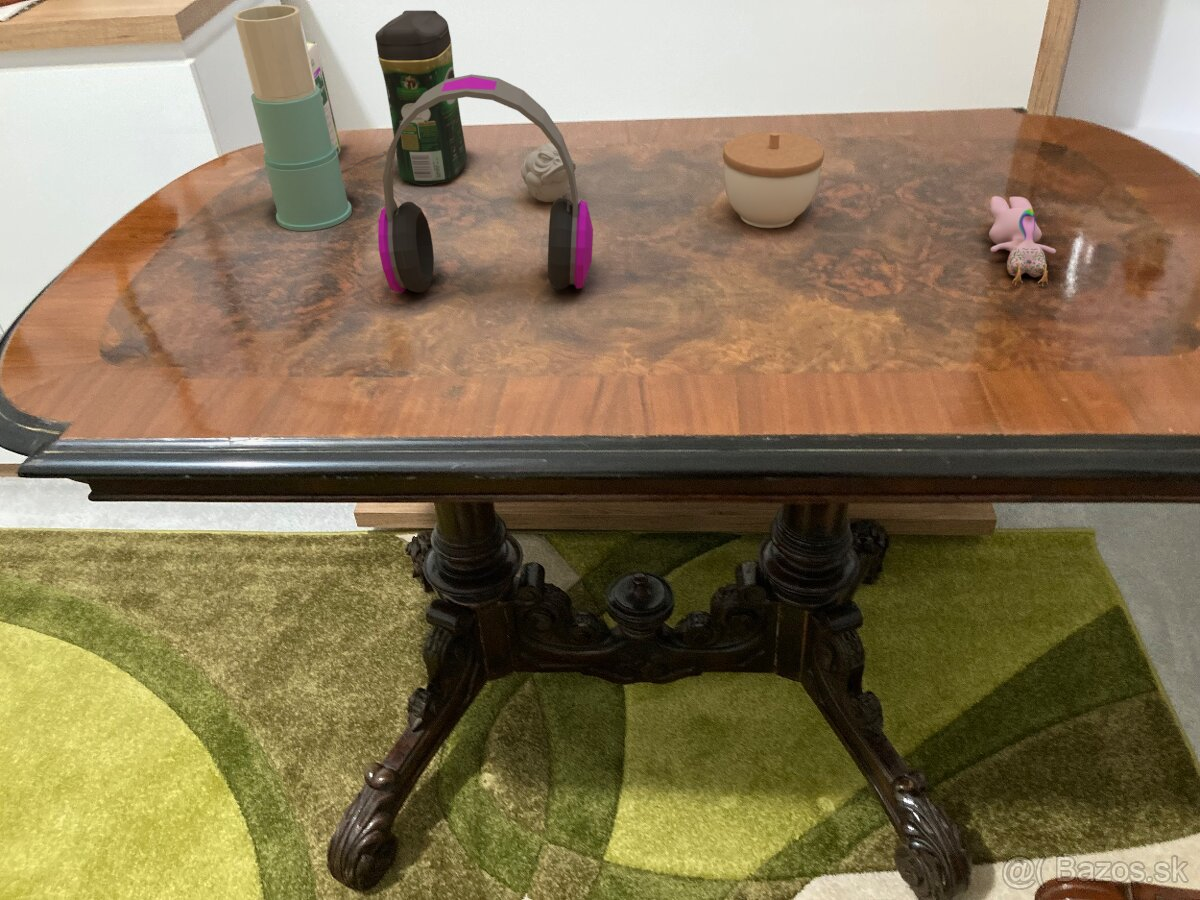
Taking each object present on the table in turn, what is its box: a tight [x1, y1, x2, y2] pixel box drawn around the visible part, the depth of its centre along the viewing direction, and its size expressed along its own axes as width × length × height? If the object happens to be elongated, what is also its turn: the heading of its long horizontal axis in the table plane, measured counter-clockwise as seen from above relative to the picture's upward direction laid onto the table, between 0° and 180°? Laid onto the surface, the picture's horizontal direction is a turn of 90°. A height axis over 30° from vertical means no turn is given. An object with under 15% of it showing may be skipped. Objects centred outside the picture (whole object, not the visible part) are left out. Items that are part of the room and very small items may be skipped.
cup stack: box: [250, 85, 353, 232], centre depth 103 cm, size 9×9×14 cm
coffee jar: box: [375, 9, 468, 186], centre depth 111 cm, size 10×8×19 cm
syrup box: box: [306, 40, 342, 155], centre depth 115 cm, size 6×6×14 cm
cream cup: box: [233, 4, 316, 103], centre depth 96 cm, size 6×6×8 cm
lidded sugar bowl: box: [722, 131, 825, 229], centre depth 100 cm, size 11×11×9 cm
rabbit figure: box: [988, 195, 1057, 287], centre depth 93 cm, size 6×6×15 cm
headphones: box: [377, 73, 594, 294], centre depth 86 cm, size 21×9×20 cm, turn 89°
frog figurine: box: [520, 141, 577, 203], centre depth 106 cm, size 6×7×7 cm
